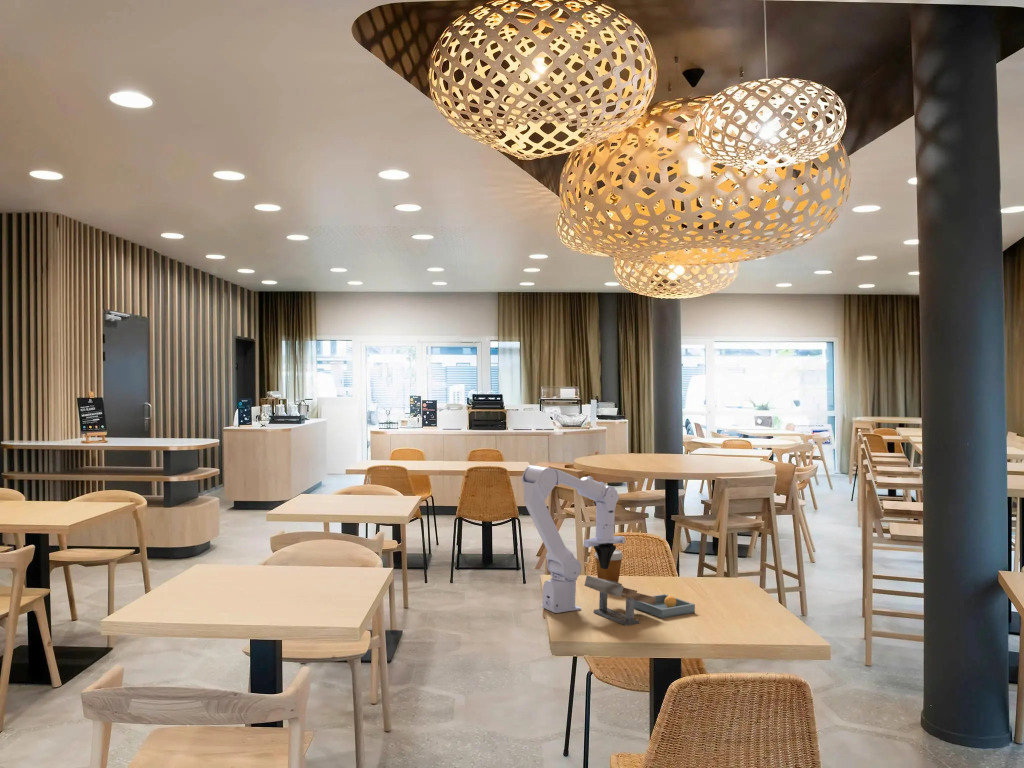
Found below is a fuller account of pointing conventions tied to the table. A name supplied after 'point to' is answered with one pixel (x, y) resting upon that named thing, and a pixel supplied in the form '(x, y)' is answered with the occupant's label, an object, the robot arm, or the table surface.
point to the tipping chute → (617, 589)
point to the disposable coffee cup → (610, 567)
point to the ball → (670, 601)
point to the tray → (665, 607)
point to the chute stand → (615, 615)
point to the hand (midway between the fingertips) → (604, 568)
